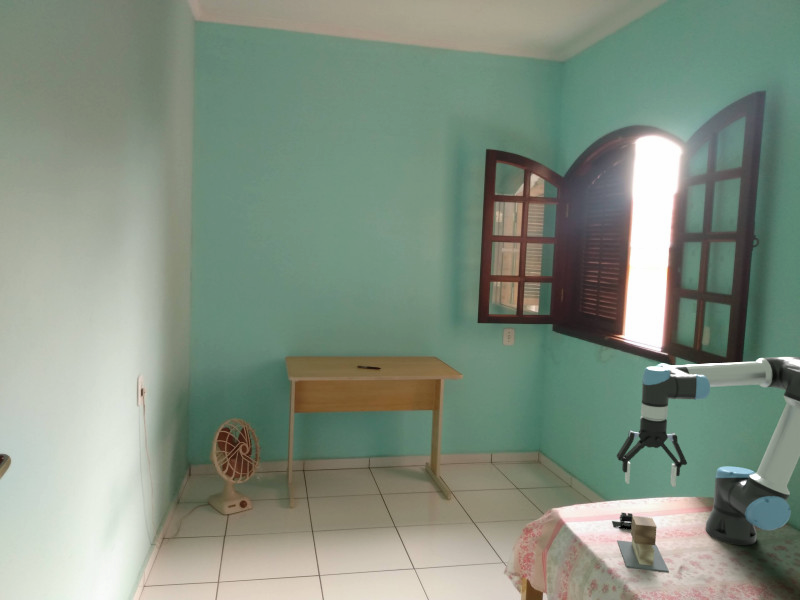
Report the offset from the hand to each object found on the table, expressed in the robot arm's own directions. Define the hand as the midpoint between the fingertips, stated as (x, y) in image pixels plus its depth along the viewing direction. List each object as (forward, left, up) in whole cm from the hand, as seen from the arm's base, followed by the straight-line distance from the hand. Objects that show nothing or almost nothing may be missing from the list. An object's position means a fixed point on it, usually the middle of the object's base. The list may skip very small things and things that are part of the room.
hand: (649, 483), depth 190 cm
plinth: (+1, +2, -23) cm, 23 cm away
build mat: (+1, +2, -23) cm, 23 cm away
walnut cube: (+1, +2, -18) cm, 18 cm away
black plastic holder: (+2, -19, -24) cm, 30 cm away
